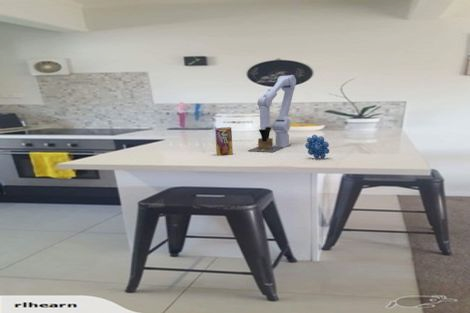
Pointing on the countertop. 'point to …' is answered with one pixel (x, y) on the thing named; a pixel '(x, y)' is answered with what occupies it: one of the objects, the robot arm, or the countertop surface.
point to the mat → (266, 149)
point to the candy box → (224, 141)
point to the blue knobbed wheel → (317, 146)
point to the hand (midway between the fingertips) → (265, 140)
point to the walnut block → (265, 143)
